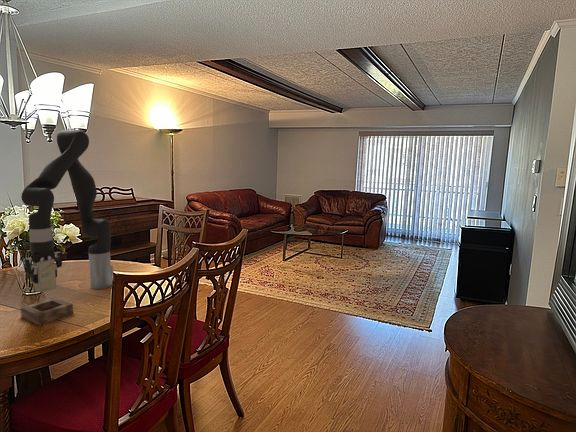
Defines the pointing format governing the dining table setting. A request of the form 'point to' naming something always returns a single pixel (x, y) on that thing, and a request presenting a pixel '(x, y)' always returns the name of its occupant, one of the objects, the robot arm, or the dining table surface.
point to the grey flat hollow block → (46, 311)
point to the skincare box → (45, 276)
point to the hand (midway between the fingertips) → (45, 280)
